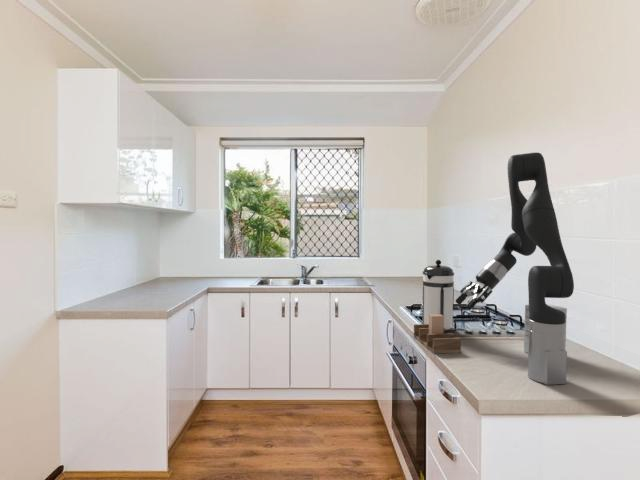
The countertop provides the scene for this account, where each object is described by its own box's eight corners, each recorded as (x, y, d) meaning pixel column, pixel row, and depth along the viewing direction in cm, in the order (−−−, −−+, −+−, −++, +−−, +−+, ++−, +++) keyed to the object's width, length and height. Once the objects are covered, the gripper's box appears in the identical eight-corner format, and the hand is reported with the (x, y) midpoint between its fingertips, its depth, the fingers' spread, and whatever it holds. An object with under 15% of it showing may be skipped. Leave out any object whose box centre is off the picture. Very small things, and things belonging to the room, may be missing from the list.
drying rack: (460, 352, 140) (461, 338, 140) (433, 353, 139) (433, 339, 139) (437, 336, 160) (437, 323, 160) (413, 336, 159) (413, 324, 159)
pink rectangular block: (443, 342, 148) (443, 316, 148) (431, 342, 148) (432, 316, 147) (440, 340, 151) (440, 314, 151) (428, 340, 151) (428, 314, 150)
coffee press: (462, 336, 160) (463, 261, 159) (422, 335, 162) (423, 261, 160) (452, 324, 177) (453, 257, 176) (416, 323, 179) (417, 257, 178)
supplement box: (546, 360, 132) (547, 310, 132) (522, 351, 141) (523, 304, 140) (566, 356, 136) (567, 307, 135) (542, 348, 145) (543, 302, 144)
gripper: (475, 265, 157) (447, 295, 157) (495, 270, 143) (464, 302, 143) (488, 278, 158) (460, 308, 158) (509, 284, 144) (478, 316, 143)
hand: (462, 305), depth 150 cm, fingers open, 8 cm apart
